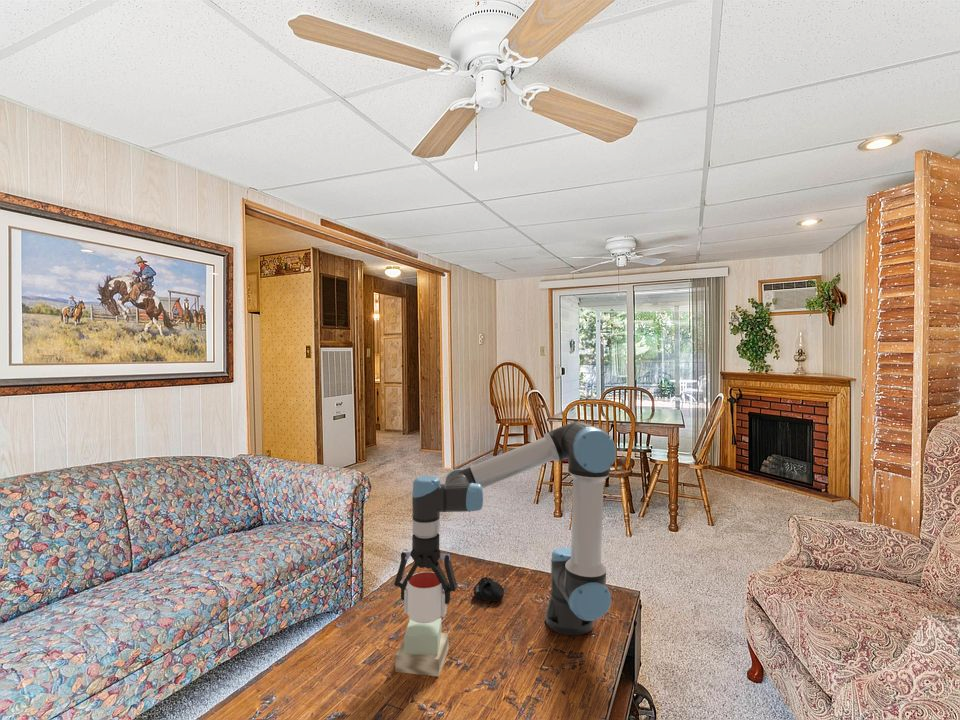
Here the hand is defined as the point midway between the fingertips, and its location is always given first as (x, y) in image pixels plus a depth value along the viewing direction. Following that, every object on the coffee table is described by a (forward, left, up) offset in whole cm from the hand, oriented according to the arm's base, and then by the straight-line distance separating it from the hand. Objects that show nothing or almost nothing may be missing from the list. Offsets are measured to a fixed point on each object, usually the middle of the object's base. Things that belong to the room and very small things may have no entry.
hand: (425, 612), depth 135 cm
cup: (0, 0, -1) cm, 1 cm away
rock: (-13, -38, -14) cm, 42 cm away
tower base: (+1, 0, -14) cm, 14 cm away
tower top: (0, 0, -9) cm, 9 cm away
